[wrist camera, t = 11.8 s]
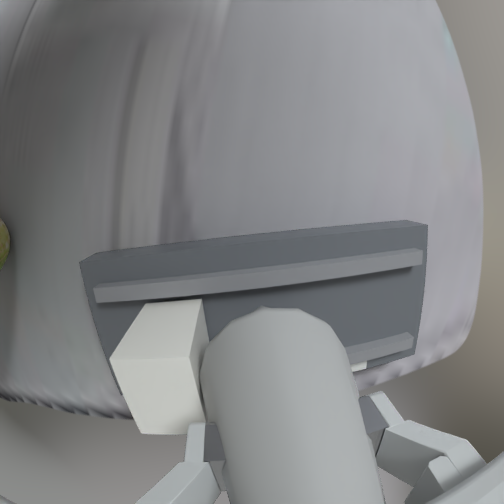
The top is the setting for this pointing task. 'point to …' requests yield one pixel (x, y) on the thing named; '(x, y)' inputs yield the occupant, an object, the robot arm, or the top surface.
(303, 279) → the switch plate
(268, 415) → the salt shaker
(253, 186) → the top surface
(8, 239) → the vegetable
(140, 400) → the slider knob
